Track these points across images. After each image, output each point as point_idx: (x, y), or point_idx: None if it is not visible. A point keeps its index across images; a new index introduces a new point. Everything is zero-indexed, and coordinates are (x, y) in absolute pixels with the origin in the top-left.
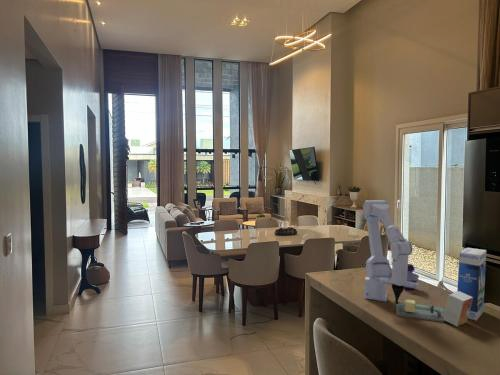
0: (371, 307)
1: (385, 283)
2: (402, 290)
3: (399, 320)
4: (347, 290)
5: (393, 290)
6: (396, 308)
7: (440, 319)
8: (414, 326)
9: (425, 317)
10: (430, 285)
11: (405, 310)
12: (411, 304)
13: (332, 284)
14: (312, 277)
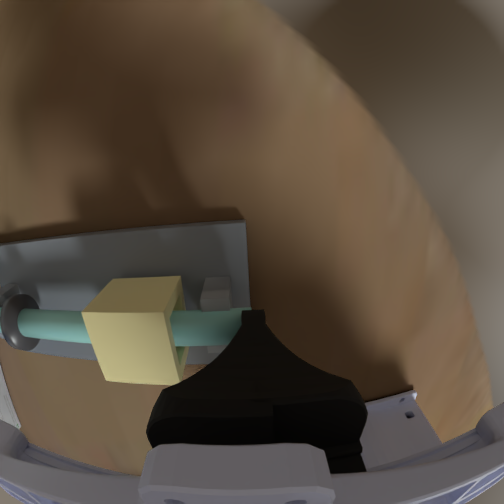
0: (405, 290)
1: (445, 446)
2: (167, 392)
3: (220, 126)
4: (450, 419)
5: (326, 376)
6: None
7: (2, 251)
8: (121, 76)
9: (56, 241)
10: None
11: (176, 277)
12: (114, 305)
13: None
14: None
